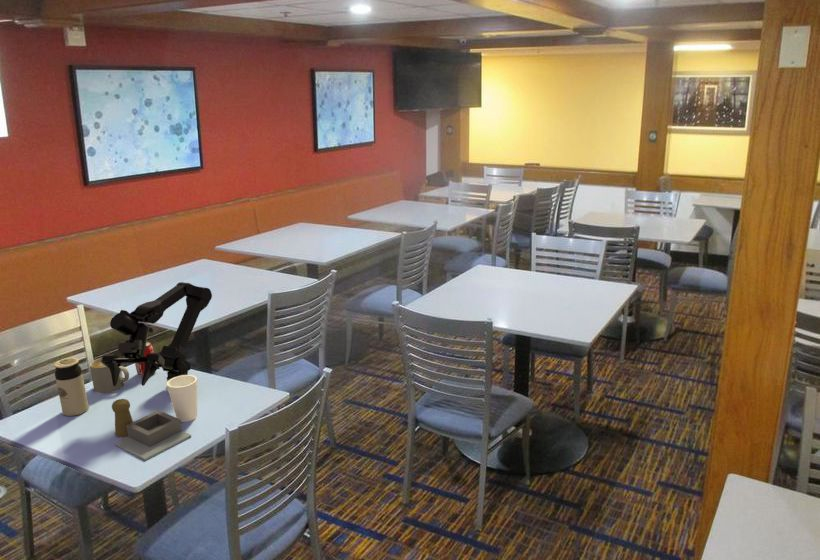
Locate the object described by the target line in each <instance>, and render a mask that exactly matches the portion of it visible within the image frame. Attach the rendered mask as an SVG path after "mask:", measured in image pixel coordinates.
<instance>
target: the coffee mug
mask: <svg viewBox="0 0 820 560" xmlns="http://www.w3.org/2000/svg"><path fill="white" fill-rule="evenodd" d="M101 360H102V357H99V358H97V359H96V358H95V359H94V360H92V361H91V362H90V363H89V370H90V374H91V380H92V385H93V390H94V392H95V393H97V394H108V393H113V392H116V391H119V390H120V389H122V388H124V385H125V384H124V383H126V382H127V381H128V380H129V378H130V373H129V370H128V368H127V367H125V366H122V365H121V366H120V367H119V368H120V369H121V370H120V374H119V377H118V381H117V384H116V386H113V382H112V376H111V372H110V369H109V368H108V367H107V366H105V365H104V364H103V363H102V362H101ZM123 375H124V376H123Z"/></svg>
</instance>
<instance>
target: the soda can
mask: <svg viewBox="0 0 820 560" xmlns="http://www.w3.org/2000/svg"><path fill="white" fill-rule="evenodd" d="M146 346H147V349H145V352H144V357H146V356H147V354H148V353H155V351H154V347H153V345H152V344H151V342H150V341H147V342H146ZM134 366H135V370H136V373H137V375H138V376H141V377H143V374H144V370H145V363H134ZM156 372H157V370H156V371H155V372H154V374H155V373H156Z"/></svg>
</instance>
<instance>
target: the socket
mask: <svg viewBox="0 0 820 560" xmlns="http://www.w3.org/2000/svg"><path fill="white" fill-rule="evenodd" d="M126 427H127V433H128V436H127V437H123V439H120V440H118V441H116V442H114V446H115V447H118V448H120V449H122V450H123V451H126V452H127V453H130V454H131V455H133V456H135V457H138V458H139V459H141V460H143V461H147V460H149V459H151V458H153V457H155V456H157V455H160V454H161V453H163V452H164V451H167V450H169V449H171V448H172V446H173V447H174V445H175V446H176V444H177V445H179V444H181V443H182V442H185V441H186V440H189V439H190V438H192V434H190V433H187V432H186V431H183V427H182V422H181V420H180V419H178V418H177V417H176V416H174V415H170V414H168V413H165V412H164V411H162V410H155V411H154V412H152V413H150V414H148V415H145V416H143V417H141V418H138V419H136V420H134V421H133V422H132V423H130V424H128V425H126ZM189 437H190V438H189ZM178 443H179V444H178Z"/></svg>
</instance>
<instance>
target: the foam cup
mask: <svg viewBox="0 0 820 560" xmlns="http://www.w3.org/2000/svg"><path fill="white" fill-rule="evenodd" d="M198 387H199V385H198V378H197V376H196V375H193V374H188V375H181V376H177V377H174V378H172V379H170V380H169V381H168V382H166V389H167V393H168V395H169V398H170V401H171V404H172V407H173V411H174V414H175V417H176V418H178V419H180V420H181V423H187V422H188V423H189V422H191V421H194V420H195V419H196V418H197V417H198Z"/></svg>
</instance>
